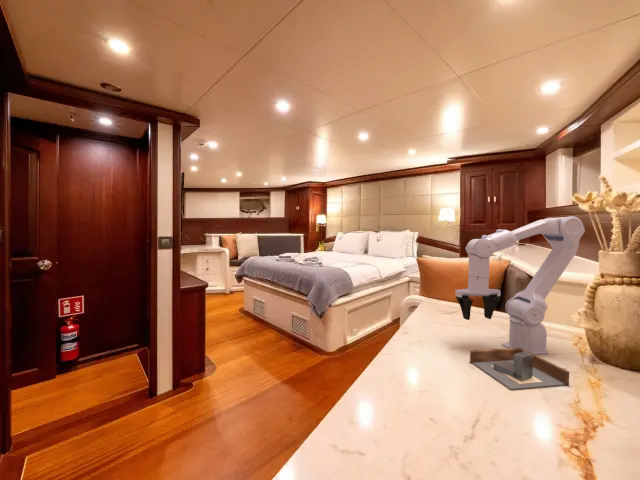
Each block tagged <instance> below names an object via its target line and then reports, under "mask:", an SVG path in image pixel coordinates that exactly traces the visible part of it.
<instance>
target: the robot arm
mask: <svg viewBox="0 0 640 480" xmlns="http://www.w3.org/2000/svg"><path fill="white" fill-rule="evenodd" d="M584 226H585V225H584V224H583V221H582V220H581V219H580V218H579V217H576V216H573V215H571V216H565V217H562V216H561V217H547V218H546V217H545V218H544V219H543V218H542V219H539V220H536V221H533V222H531V223H528V224H526V225H523V226H520V227H519V228H516V229H512V230H511V231H510V230H507V229H502V228H501V229H500V228H499V229H497V230H495V232H493V233H491V234H488V235H486V234H483V235H482V236H481V238H474V239H471V240H469V242H468V243H467V245H466V246H465V251H466V253H467V254H468V274H467V275H468V277H467V278H468V279H467V288H461V289H455V294H454V295H455V299H456V300H457V302H458V304H459V307H460V310H461V313H462V317H463V319H464V320H467V321H470V320H471V309H472V304H473V302H474V299H471V298H470V297H482V300H483V301H482V302H483V314H484V315H483V316H484V318H485V319H488V320H491V319H492V317H493V314H494V311H495V309H496V308H497V305H498V304H499V303H500V302H501V290H500V289H497V288H489V287H490V286H489V285H490V284H489V283H490V257H491V256H493V255H494V253H497V252H499V251H500V252H501V251H503V250H505V249H509V248H511V247H513V246H515V244H516V241H520V240H523V239H526V238H529V237H532V236H533V237H534V236H536V235H542V237H544V238H545V240H546V241H547V242H548V245H550V246H551V251H550V252H549V254H548V255H547V257H546V258H545V260H544V261H543V262H542V263H541V264H540V267H539V269H538V270H537V271H536V273H535V274H534V275H533V277H532V279H531V280H530V281H529V283H528V284H527V286H526V288H525V289H522V290H520V291H519V292H517V293H515V294H514V296H513V297H512V298H510V299H508V300H507V302H506V303H505V307H504V309H505V311H506V313H507V314H508V315H509V331H508V332H509V335H508V342H503V343H502V344H501V345H502V346H503V347H505V348H522V349H524V350H526V351H528V352H530V353H532V354H534V355H546V354H547V355H549V353H550V352H549V351H548V350H547V342H548V341H547V338H548V334H547V328H546V327H545V326H544V324H543V323H542V322H543V320H544V319H545V316H546V315H545V313H546V311H547V310H548V304H547V302H546V300H545V299H546V298H547V297H548V295H549V293H550V292H551V290H552V289H553V288H554V286H555V284H557V282H558V281H559V279H560V278H561V276H562V274H563V273H564V271H565V270H566V269H567V267H568V266H569V264H570V263H571V261H572V260H573V259H574V258H575V256H576V254H577V253H578V251H579V250H578V249H579V245H580V239H581V238H582V237H583V235H584V233H585V232H586V230H585V227H584Z"/></svg>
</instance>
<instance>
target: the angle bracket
mask: <svg viewBox="0 0 640 480" xmlns="http://www.w3.org/2000/svg"><path fill="white" fill-rule="evenodd" d="M493 369H495V370H497V371H500V372H502V373H504V374H506V375H508V376H510V377H513V378H515V379H517V380H519V381H521V382H522V381H525V380H527V379H530V378H532V370H533V354H531V353H528V352H525V351H523V352H520V353H517V354H514V362H513V364H512V363H510V362H508V361H505V360H502V361H499V362H496V363H494V365H493Z"/></svg>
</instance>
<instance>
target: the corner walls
mask: <svg viewBox="0 0 640 480" xmlns="http://www.w3.org/2000/svg"><path fill="white" fill-rule="evenodd" d="M469 351H470V352H469V362H471V364H472V363H473V362H488V361H502V360H514V354H517V353H520V352H523V351H525V352H528V351H526V350H524V349H522V348H507V347H505V348H493V349H492V348H491V349H474V350H473V349H472V350H469ZM528 353H530V352H528ZM531 354H532V353H531ZM533 367H534V368H536V369H538V370H540V371H542V372H544V373H546V374H547V375H549V376H551V377H553V378H555V379H557V380H559V381H560V382H562V383H564V384H565V385H566V386H567V385H568V384H569V385H570V371H568V370H567V369H565V368H563V367H560V366H559V365H556V364H554V363H552V362H550V361H548V360H546V359H544V358H542V357H541V356H538V355H537V354H535V355H534V354H533ZM569 385H568V386H569ZM566 386H565V387H566Z"/></svg>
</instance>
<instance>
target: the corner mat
mask: <svg viewBox="0 0 640 480" xmlns="http://www.w3.org/2000/svg"><path fill="white" fill-rule="evenodd" d="M505 361H508V362H510V363H512V364H513V362H514V360H505ZM469 362H470V361H469ZM496 362H499V361H488V362H473V363H471V362H470V363H471V364H472V365H473V366H474V367H476V368H477V369H479V370H481V371H482V372H484V373H485V374H486V375H488V376H489V377H490V378H492V379H493V380H495V381H497V382H498V383H499V384H501V385H503V386H504V387H505V388H507V389H508V390H509V391H518V390H520V391H521V390H529V389H530V390H531V389H543V388H554V387H555V388H556V387H566V385H565V384H564V383H562V382H560V381H559V380H557V379H555V378H553V377H551V376H549V375H547V374H546V373H544V372H542V371H540V370H538V369H536V368H534V367H533V370H532V378H530V379H527V380H525V381H522V382H521V381H519V380H517V379H515V378H513V377H510V376H508V375H506V374H504V373H502V372H500V371H497V370H495V369H493V365H494V363H496ZM567 386H570V383H569V384H568V385H567Z"/></svg>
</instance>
